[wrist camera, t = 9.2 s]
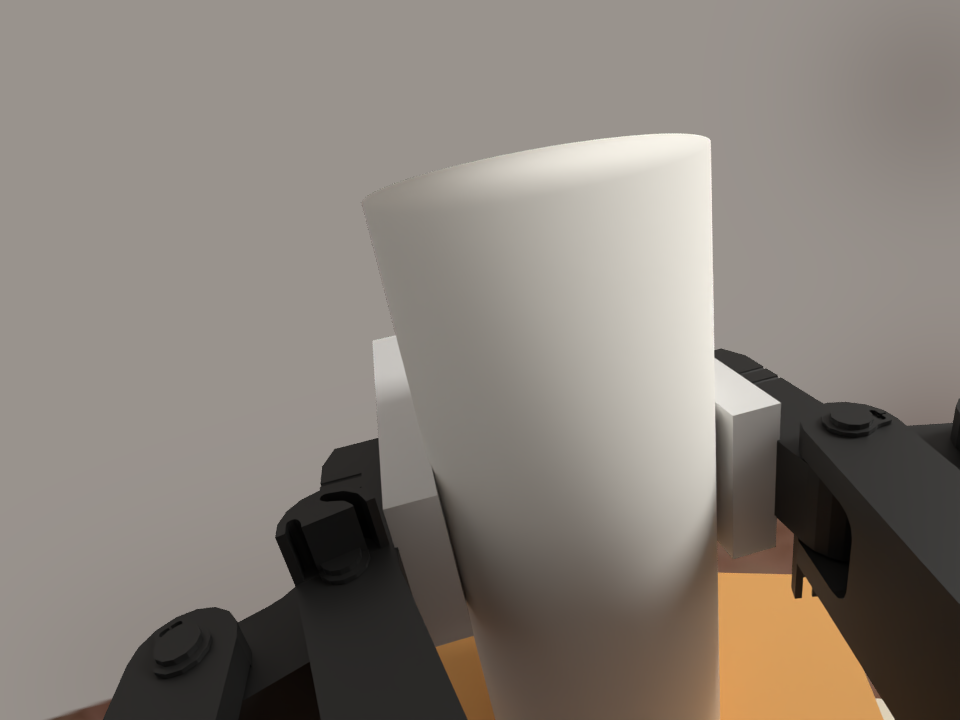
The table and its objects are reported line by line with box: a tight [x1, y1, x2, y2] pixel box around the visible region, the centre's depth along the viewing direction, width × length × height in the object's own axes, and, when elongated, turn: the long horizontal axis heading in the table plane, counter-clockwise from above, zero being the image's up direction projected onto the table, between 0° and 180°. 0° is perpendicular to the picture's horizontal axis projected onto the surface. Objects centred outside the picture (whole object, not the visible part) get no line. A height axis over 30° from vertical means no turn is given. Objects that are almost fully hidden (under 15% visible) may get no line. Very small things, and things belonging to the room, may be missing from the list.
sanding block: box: [362, 134, 884, 720], centre depth 10 cm, size 10×7×13 cm
